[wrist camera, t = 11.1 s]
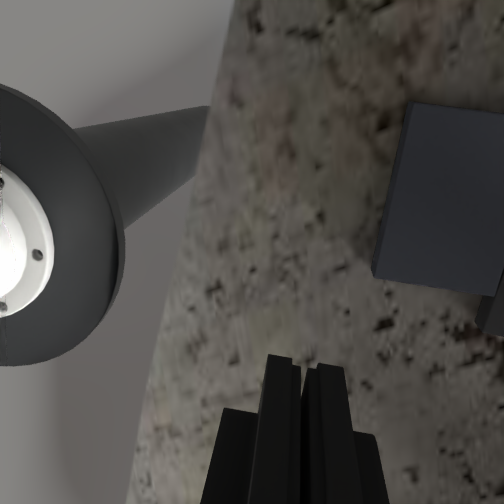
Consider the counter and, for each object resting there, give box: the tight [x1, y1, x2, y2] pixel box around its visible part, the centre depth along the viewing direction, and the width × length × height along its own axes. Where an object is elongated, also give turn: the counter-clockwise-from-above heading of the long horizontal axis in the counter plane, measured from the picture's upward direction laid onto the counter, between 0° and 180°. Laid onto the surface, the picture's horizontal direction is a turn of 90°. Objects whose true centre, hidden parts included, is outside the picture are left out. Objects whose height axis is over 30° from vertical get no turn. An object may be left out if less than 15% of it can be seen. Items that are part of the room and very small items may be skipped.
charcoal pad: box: [371, 101, 504, 297], centre depth 26 cm, size 11×10×2 cm
